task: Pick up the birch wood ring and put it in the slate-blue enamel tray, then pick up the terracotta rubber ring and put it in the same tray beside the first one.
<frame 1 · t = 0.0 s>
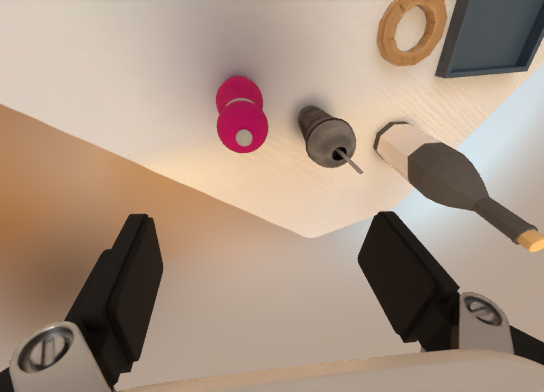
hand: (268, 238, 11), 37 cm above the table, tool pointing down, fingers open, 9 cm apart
beverage cup: (309, 118, 47), on the table
birch ring: (407, 29, 41), on the table
pepper mill: (238, 95, 43), on the table
wine bottle: (391, 139, 52), on the table
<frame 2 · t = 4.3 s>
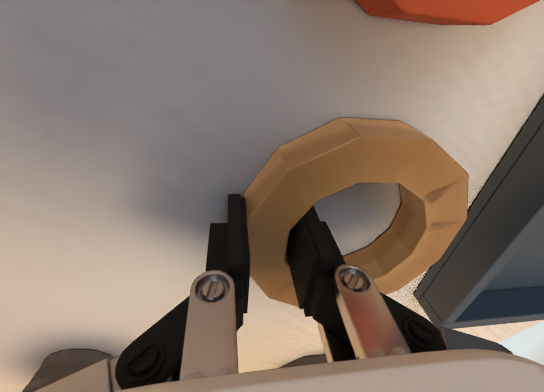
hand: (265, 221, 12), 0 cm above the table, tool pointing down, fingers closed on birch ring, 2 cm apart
beverage cup: (83, 362, 17), on the table
birch ring: (340, 215, 13), on the table, touching gripper
wine bottle: (310, 371, 24), on the table
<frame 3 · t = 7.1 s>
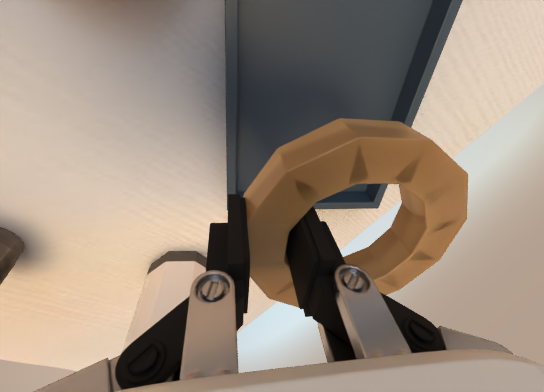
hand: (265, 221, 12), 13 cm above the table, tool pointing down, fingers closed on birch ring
birch ring: (339, 216, 13), point 13 cm above the table, touching gripper
tray: (327, 47, 20), on the table
wine bottle: (184, 270, 32), on the table
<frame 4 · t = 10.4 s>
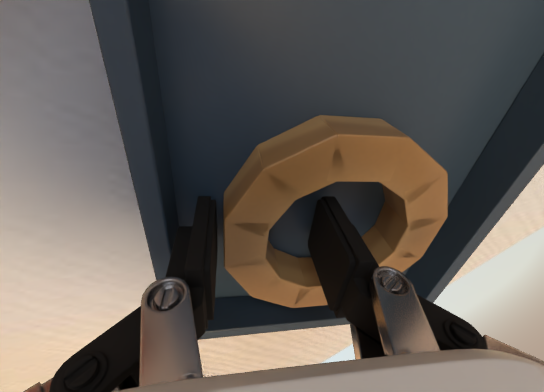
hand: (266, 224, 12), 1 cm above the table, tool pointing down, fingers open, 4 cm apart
birch ring: (323, 213, 13), point 1 cm above the table, touching tray
tray: (358, 66, 9), on the table
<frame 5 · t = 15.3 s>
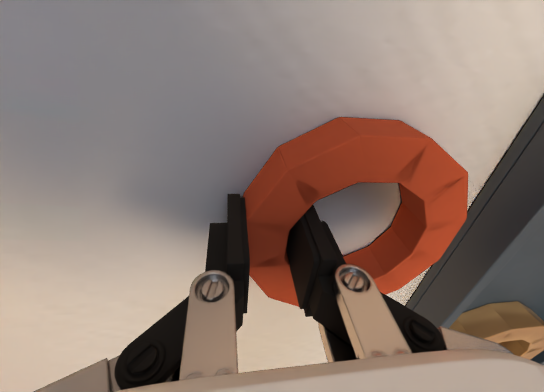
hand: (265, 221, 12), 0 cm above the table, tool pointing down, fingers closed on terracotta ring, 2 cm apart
birch ring: (469, 335, 22), point 1 cm above the table, touching tray
terracotta ring: (339, 215, 13), on the table, touching gripper
tray: (510, 281, 19), on the table
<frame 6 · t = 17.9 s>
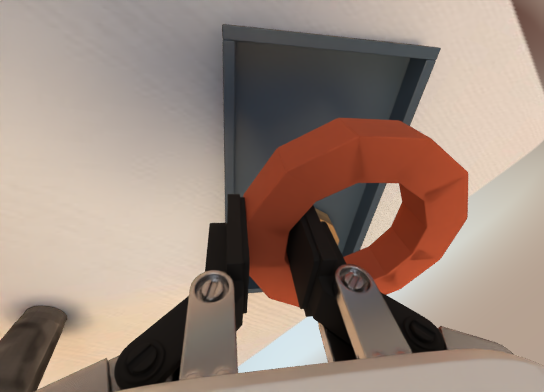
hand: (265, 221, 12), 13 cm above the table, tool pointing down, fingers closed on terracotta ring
beverage cup: (47, 314, 33), on the table
terracotta ring: (340, 215, 13), point 12 cm above the table, touching gripper
tray: (300, 188, 27), on the table
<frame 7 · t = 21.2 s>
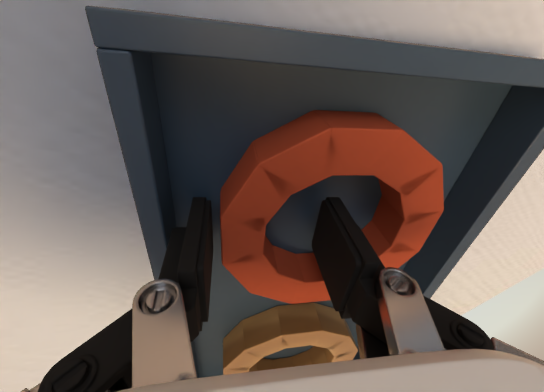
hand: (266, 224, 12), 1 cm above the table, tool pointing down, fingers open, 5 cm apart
birch ring: (286, 339, 20), point 1 cm above the table, touching tray
terracotta ring: (320, 209, 13), point 1 cm above the table, touching tray
tray: (298, 280, 17), on the table
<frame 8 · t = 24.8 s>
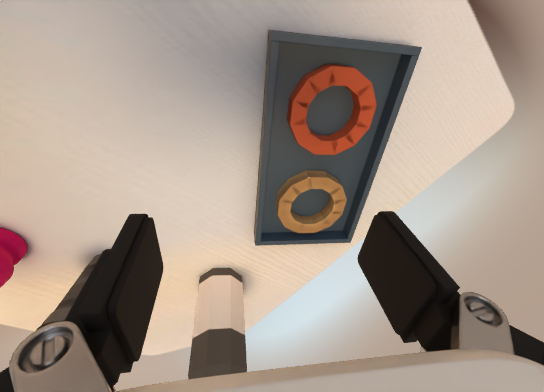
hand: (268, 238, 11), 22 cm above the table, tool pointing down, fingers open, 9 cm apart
beverage cup: (108, 262, 40), on the table
birch ring: (308, 199, 37), point 1 cm above the table, touching tray
terracotta ring: (327, 110, 30), point 1 cm above the table, touching tray
pepper mill: (1, 242, 35), on the table
tray: (316, 157, 34), on the table
wine bottle: (221, 280, 46), on the table
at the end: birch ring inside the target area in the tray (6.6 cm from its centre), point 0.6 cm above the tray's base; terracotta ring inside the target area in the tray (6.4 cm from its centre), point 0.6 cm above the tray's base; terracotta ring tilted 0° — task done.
